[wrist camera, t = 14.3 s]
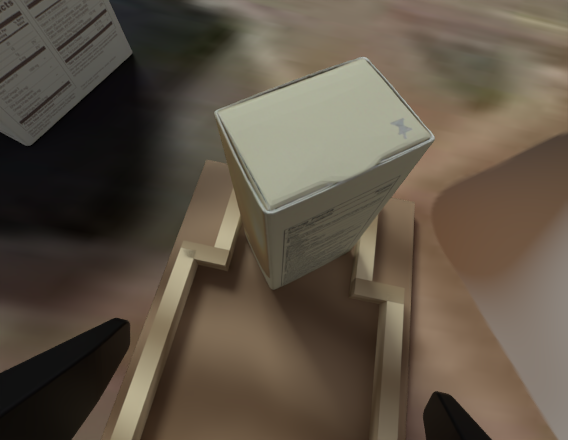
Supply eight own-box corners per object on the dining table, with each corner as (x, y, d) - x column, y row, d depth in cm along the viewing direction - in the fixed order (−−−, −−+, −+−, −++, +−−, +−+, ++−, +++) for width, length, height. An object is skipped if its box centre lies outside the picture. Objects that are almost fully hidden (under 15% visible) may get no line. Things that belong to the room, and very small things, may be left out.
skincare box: (320, 201, 22) (372, 48, 11) (352, 252, 21) (448, 135, 10) (239, 237, 21) (207, 104, 10) (267, 294, 20) (265, 215, 8)
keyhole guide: (392, 524, 16) (414, 554, 14) (104, 452, 17) (77, 469, 14) (407, 209, 24) (423, 193, 21) (209, 168, 24) (202, 148, 22)
